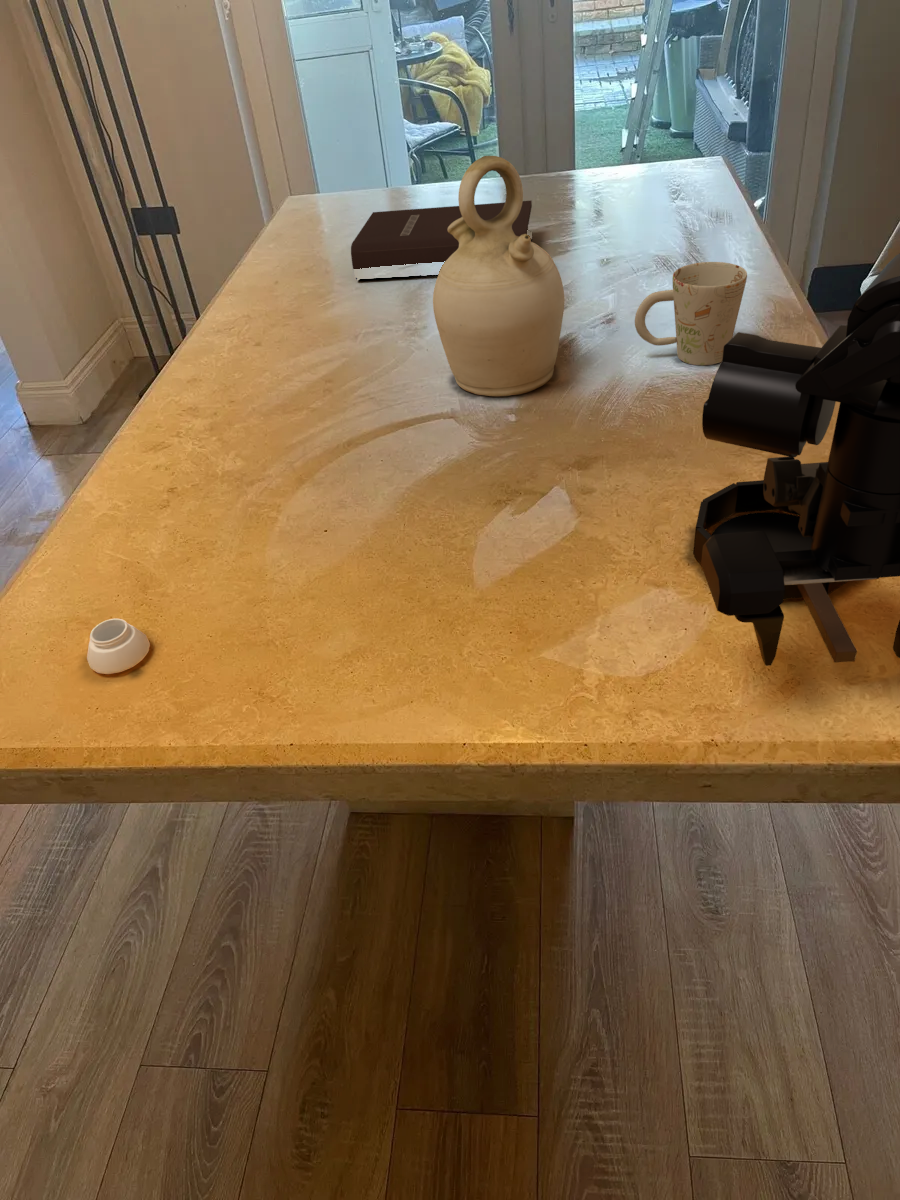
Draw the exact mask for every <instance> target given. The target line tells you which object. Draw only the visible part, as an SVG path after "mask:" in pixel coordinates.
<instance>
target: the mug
mask: <svg viewBox="0 0 900 1200" xmlns="http://www.w3.org/2000/svg"><path fill="white" fill-rule="evenodd" d="M747 278H748V272H747V270H746V269H745V268H743V267H742V266H740V265H738V264H735V263H730V262H726V261H725V262H723V261H703V262H695V263H690V264H686V265H683V266H681V267H679V268H678V269H676V270H675V271H674V272H673V273H672V289H666V290H659V291H654V292H652V293H651V294H649V295H647V296H646V297H645V298H644V299H643V300H642V301H641V303H640V304H639V305H638V308H637V310H636V312H635V316H634V328H635V330H636V333H637V334H638V336H639V337H640V338H641V339H642V340H644V341H645V342H646V343H648V344H650V345H653V346H657V347H658V346H669V345H674V344H676V353H677V354H676V355H677V358H678V359H679V360H680V361H682V362H683V363H686V364H688V365H693V366H712V365H716V364H719V363H720V364H721V362H722V358H723V349H724V345H725V344H726V343H727V342H728V341H729V340H730V339H731V338H732V337H733V336H734V333H735V328H736V325H737V321H738V316H739V313H740V308H741V304H742V300H743V295H744V292H745V287H746V283H747ZM672 301H673V311H674V312H673V313H674V325H675V336H667V337H655V336H654V335H653V334H652V333H651V332H650V331H649V329H648V328H647V324H646V317H647V315H648V312H649V310H650V309H651V308H652V307H653V306H654V305H655V304H657V303H663V302H672Z"/></svg>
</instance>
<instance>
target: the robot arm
mask: <svg viewBox="0 0 900 1200" xmlns="http://www.w3.org/2000/svg"><path fill="white" fill-rule="evenodd" d="M848 315H849V316H848V318H847V323H846V324H840V325H839V326H838V327H837V328H836V329H835V330H834V332H833V333H832V334H831V336H830V337H829V338H828V339H827V340H826V341H825V343H824V344H823V345H822V346H820V347H819V346H814V345H813V346H812V345H807V344H806V345H805V344H798V343H792V342H786V341H778V340H772V339H768V338H765V337H762V336H760V335H757V334H753V333H746V332H740V331H739V332H737V333H735V334H734V335H733V337H732V338H731V339H730V340H729V341H728V342H727V343H726V344H725V345H724V349H723V358H722V362H720V364H719V366H718V368H717V371H716V372H715V375H714V378H713V380H712V385H711V387H710V391H709V394H708V398H707V399H706V401H705V402H704V404H703V406H702V407H703V409H702V417H701V421H702V422H701V426H702V433H703V436H704V437H705V438H706V440H711V441H715V442H718V443H719V442H720V443H723V444H730V445H733V446H734V445H735V446H738V447H743V448H748V449H752V450H757V451H762V452H765V453H766V452H767V453H770V454H774V455H780V456H778V457H777V456H776V457H768V458H767V460H766V466H765V469H764V475H763V480H764V488H763V494H764V499H765V500H766V501H767V502H768V503H770V504H771V505H773V506H774V507H779V506H788V509H789V510H790V511H795V512H797V513H798V514H800V516H799V517H800V519H799V524H798V528H799V530H800V532H801V534H802V535H803V537H808V536H811V538H812V543H811V548H810V550H801V551H787V552H774V550H773V548H772V546H771V544H770V542H769V540H768V537H767V535H766V533H765V531H758V532H744V533H730V534H716V535H713V536H712V537H710V538H709V539H708V541H707V542H706V543H705V544H704V545H703V551H702V560H701V564H700V565H701V569H702V572H703V574H704V577H705V580H706V582H707V586H708V589H709V591H710V594H711V598H712V600H713V602H714V605H715V609H716V611H717V612H719V613H721V614H723V615H726V616H728V617H731V616H734V617H735V619H736V620H737V621H738V622H741V623H743V624H744V623H745V624H747V623H748V624H749V623H750V624H751V623H752V625H753V626H752V627H753V629H754V633H755V636H756V640H757V644H758V648H759V651H760V655H761V656H760V657H761V658H762V661H763V664H764V666H765V667H770V666H772V664H773V662H774V660H775V659H776V657H777V651H778V647H779V644H780V643H779V642H780V637H781V632H782V627H783V625H784V624H783V623H784V619H785V614H784V612H783V610H782V608H781V605H782V604H784V599H783V598H784V593H785V585H794V584H809V583H824V582H839V581H848V582H854V581H866V580H867V581H869V580H879V579H882V578H894V577H895V578H897V577H900V253H897V254H896V255H895V256H894V257H893V258H892V259H891V260H890V261H889V262H888V263H886V265H885V266H884V267H883V268H882V270H881V271H880V272H879V273H878V274H877V276H876V277H875V278H874V280H872V282H871V283H870V284H869V286H868V287H866V289H865V290H864V291H863V292H862V293H861V295H860V296H859V297H858V299H856V301H855V303H854V304H853V306H852V309H851V311H850V312H849V314H848ZM836 403H839V406H838V411H837V416H836V421H835V425H834V431H833V436H832V441H831V445H830V449H829V455H828V461H821V462H810V463H809V462H808V463H807V462H806V463H802V462H801V460H799V459H796V457H798V456H801V454H802V452H803V449H804V448H805V445H806V444H808V445H813V446H818V445H820V444H821V443H822V441H823V440H824V438H825V436H826V434H827V431H828V429H829V427H830V424H831V421H832V418H833V414H834V411H835V406H836ZM892 644H893V645H892V650H893V652H894V654H895V656H896V657H897V658H898V659H900V619H899V621H898V624H897V626H896V630H895V633H894V638H893V643H892Z"/></svg>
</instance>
